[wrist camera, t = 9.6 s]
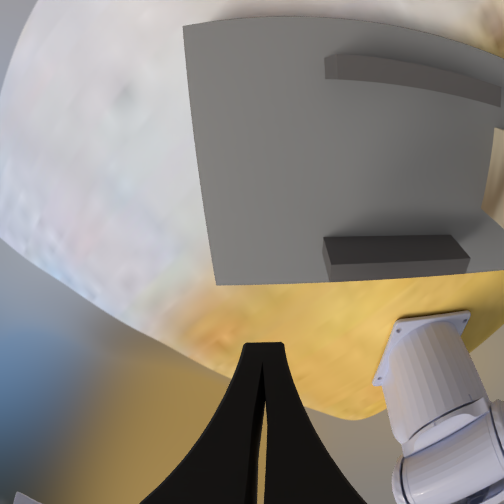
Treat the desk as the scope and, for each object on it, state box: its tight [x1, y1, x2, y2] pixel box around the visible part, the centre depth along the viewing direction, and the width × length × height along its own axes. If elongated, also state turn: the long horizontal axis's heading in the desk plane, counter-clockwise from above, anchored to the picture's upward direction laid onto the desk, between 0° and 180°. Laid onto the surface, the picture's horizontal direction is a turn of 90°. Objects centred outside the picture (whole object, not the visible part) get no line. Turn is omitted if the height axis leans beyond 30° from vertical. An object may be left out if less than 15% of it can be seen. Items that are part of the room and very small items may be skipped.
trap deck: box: [183, 16, 504, 285], centre depth 13 cm, size 14×30×5 cm, turn 94°
